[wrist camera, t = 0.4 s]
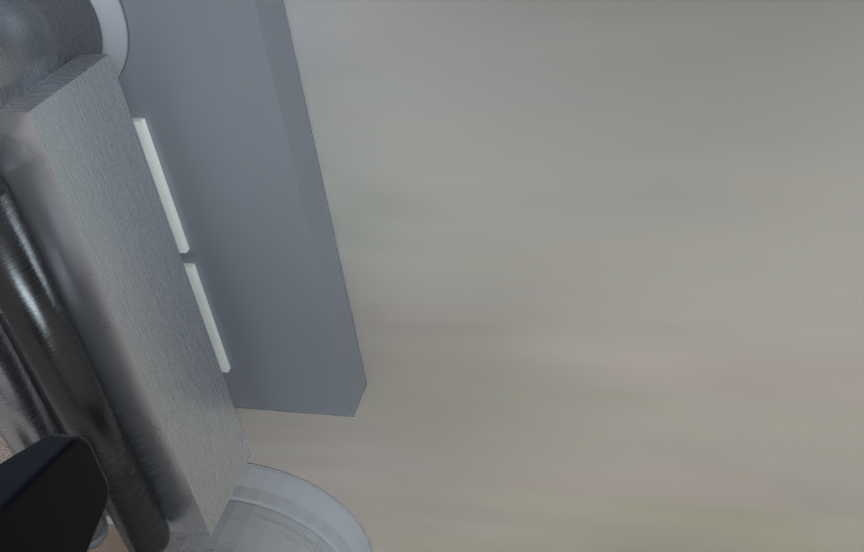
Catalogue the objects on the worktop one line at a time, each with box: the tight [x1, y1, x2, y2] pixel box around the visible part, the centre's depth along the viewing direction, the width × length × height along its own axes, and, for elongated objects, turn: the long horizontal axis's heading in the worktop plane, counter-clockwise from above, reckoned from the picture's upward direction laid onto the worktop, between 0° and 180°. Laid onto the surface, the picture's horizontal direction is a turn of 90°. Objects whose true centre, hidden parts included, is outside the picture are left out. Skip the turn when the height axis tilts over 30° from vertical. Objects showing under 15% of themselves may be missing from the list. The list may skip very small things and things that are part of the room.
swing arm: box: [0, 0, 251, 552], centre depth 21 cm, size 15×5×5 cm, turn 7°
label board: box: [90, 0, 367, 417], centre depth 23 cm, size 16×12×2 cm
